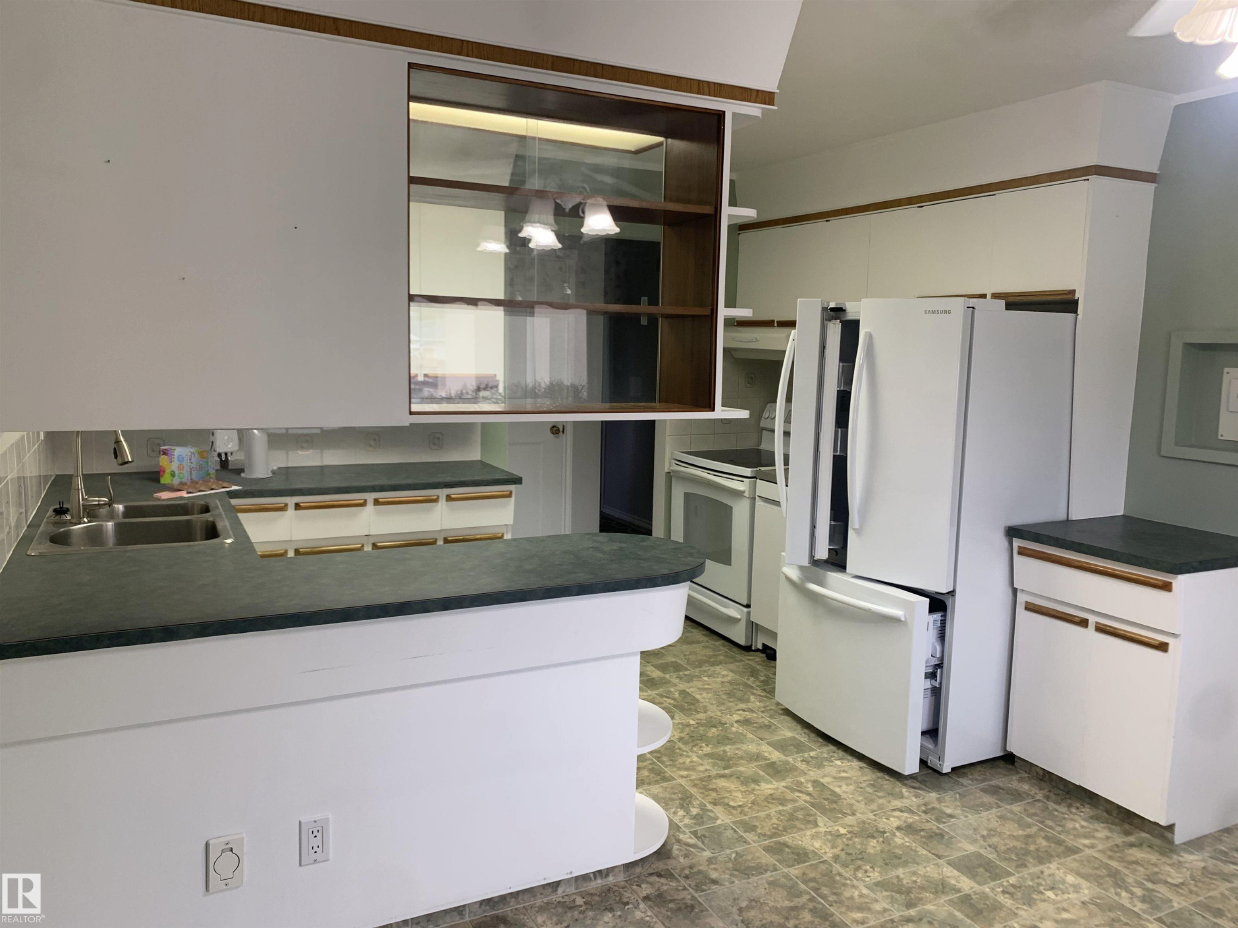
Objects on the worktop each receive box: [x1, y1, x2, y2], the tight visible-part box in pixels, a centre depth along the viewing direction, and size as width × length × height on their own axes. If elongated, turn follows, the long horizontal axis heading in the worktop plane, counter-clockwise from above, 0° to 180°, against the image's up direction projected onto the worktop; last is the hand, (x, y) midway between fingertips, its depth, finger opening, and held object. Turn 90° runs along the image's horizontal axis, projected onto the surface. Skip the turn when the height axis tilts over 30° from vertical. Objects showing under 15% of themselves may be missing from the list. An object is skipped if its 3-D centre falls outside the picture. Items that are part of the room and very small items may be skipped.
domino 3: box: [178, 481, 210, 491], centre depth 342 cm, size 2×5×10 cm
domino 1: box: [152, 489, 186, 500], centre depth 333 cm, size 2×5×10 cm
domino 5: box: [202, 478, 234, 488], centre depth 351 cm, size 2×5×10 cm
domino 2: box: [166, 482, 198, 493], centre depth 338 cm, size 2×5×10 cm
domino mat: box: [182, 485, 243, 498], centre depth 347 cm, size 25×10×1 cm, turn 150°
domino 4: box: [191, 479, 222, 490], centre depth 346 cm, size 2×5×10 cm
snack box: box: [158, 445, 216, 485], centre depth 360 cm, size 21×6×15 cm, turn 84°
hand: (224, 468), depth 353 cm, fingers closed
